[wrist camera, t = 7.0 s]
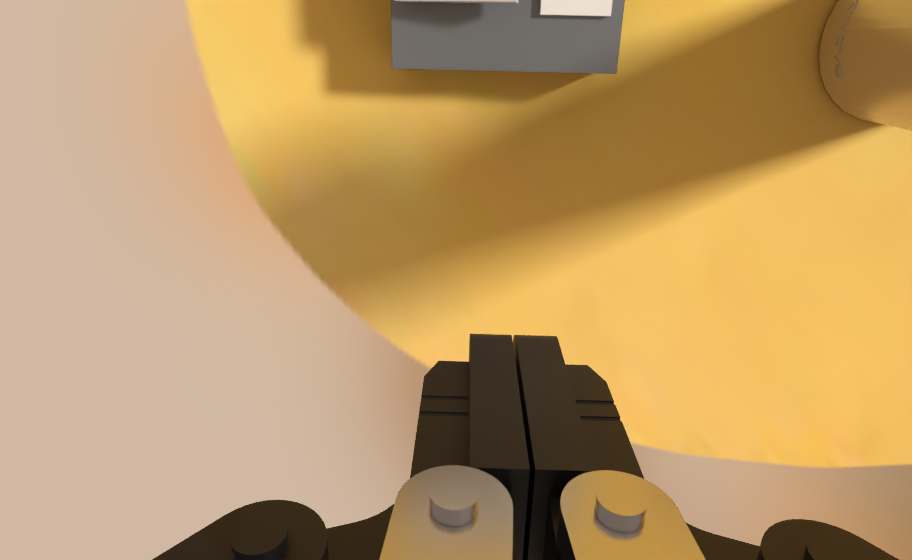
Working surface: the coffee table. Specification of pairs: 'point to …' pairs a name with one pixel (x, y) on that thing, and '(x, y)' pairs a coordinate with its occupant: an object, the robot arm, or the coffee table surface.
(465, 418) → the robot arm
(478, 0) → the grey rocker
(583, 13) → the rocker switch panel
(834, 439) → the coffee table surface
